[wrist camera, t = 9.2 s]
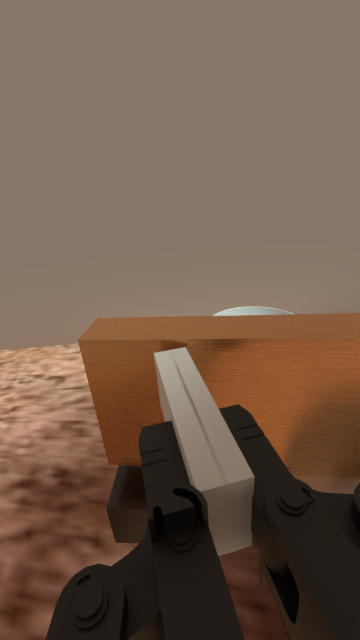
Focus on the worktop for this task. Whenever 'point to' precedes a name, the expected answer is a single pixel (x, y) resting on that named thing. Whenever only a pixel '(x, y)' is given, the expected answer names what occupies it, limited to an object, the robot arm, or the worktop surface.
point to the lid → (240, 383)
